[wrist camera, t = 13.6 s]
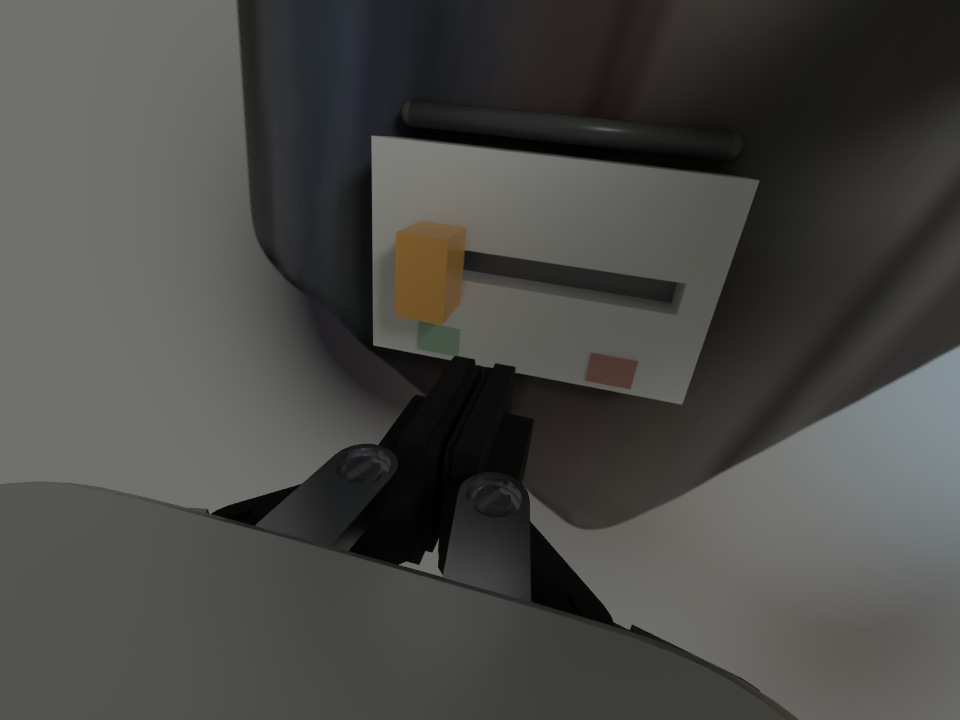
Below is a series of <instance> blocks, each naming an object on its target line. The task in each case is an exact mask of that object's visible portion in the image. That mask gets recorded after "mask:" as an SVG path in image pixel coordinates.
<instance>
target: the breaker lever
mask: <svg viewBox="0 0 960 720" xmlns="http://www.w3.org/2000/svg"><path fill="white" fill-rule="evenodd" d="M465 240H466V227H459V226H452V225H445V224H438V223H432V222H425V221H419V222H417V223H415V224H412V225H410V226H408V227H406V228H403V229H401V230H399V231H397V232H396V267H395V316H396V317H402V318H407V319H413V320H418V321H424V322H429V323H435V324H440V325H443V324H444V323H445V321H446V320H447V319H448V318H449V317H450V315H451V314H452V313H453V312H454V311H455V310H456V308H457V307H458V306H459V305H460V301H461V288H462V276H463V267H464V265H465V253H466V250H465Z"/></svg>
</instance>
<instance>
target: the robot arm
mask: <svg viewBox="0 0 960 720" xmlns="http://www.w3.org/2000/svg"><path fill="white" fill-rule="evenodd" d="M481 372H482V367H481V366H480V365H475V359H471V358H466V357H460V356H454V357H453V358H452V360H451V361H450V363H449V364H448V366H447V367H446V369H445V370H444V372H443V373H442V375H441V376H440V378H439V379H438V381H437V382H436V383H435V385H434V386H433V388H432V389H431V391H430V392H429V394H428V395H427V397H425V396H420V395H415V396H414V397H413V398H412V399H411V401H410V402H409V404H408V405H407V407H406V408H405V409H404V410H403V412H402V413H401V414H400V416H399V417H398V419H397V420H396V421H395V423H394V424H393V426H392V427H391V428H390V430H389V431H388V433H387V434H386V435H385V437H384V438H383V439H382V441H381V442H380V443H379V445H375V444H359V445H354V446H351V447H348V448H345V449H343V450H341V451H340V452H338V453H337V454H335V455H334V456H333V457H332V458H331V459H330V460H329V461H327V462H326V463H325V464H324V465H323V466H322V467H321V468H319V470H317V471H316V472H315V473H314V474H313V475H312V476H310V477H309V478H308V479H307V480H306V481H305V482H304V483H302V484H300V485H296V486H293V487H290V488H287V489H283V490H279V491H276V492H273V493H269V494H266V495H263V496H259V497H256V498H252V499H249V500H245V501H242V502H239V503H235V504H232V505H229V506H226V507H224V508H221V509H218V510H217V511H215V512H213V513H212V514H209V511H208V509H200V508H185V507H181V506H178V505H174V504H170V503H166V502H162V501H158V500H154V499H150V498H146V497H141V496H137V495H132V494H128V493H123V492H119V491H114V490H109V489H105V488H101V487H94V486H88V485H81V484H73V483H56V482H24V483H7V484H0V720H798V719H797V718H796V717H795V716H794V715H792V714H791V713H790V712H788V711H787V710H786V709H784V708H783V707H782V706H780V705H779V704H777V702H775V701H774V700H772V699H771V698H769V697H767V696H766V695H764V694H763V693H761V692H760V691H759V690H758V689H757V688H756V687H754V686H753V685H751V684H750V683H748V682H747V681H745V680H744V679H742V678H740V677H738V676H736V675H734V674H732V673H730V672H728V671H726V670H724V669H722V668H720V667H718V666H716V665H714V664H712V663H710V662H708V661H706V660H704V659H701V658H699V657H698V656H695V655H693V654H691V653H689V652H687V651H685V650H683V649H681V648H679V647H677V646H675V645H673V644H671V643H669V642H667V641H665V640H663V639H661V638H659V637H657V636H655V635H653V634H651V633H648V632H646V631H644V630H642V629H640V628H638V627H636V626H634V625H632V626H631V628H630V630H628V629H626V628H624V627H622V626H620V625H618V624H616V623H614V622H613V620H612V617H611V615H610V614H609V612H608V611H607V609H606V608H605V607H604V605H603V604H602V603H601V602H600V600H599V599H598V598H597V597H596V596H595V595H594V594H593V592H592V591H591V590H590V589H589V588H588V587H587V586H586V585H585V583H584V582H583V581H582V580H581V579H580V578H579V576H578V575H577V574H576V573H575V572H574V571H573V570H572V568H570V566H569V565H568V564H567V563H566V562H565V560H564V559H563V558H562V557H561V556H560V555H559V554H558V553H557V552H556V550H555V549H554V548H553V547H552V546H551V545H550V543H549V542H548V541H547V540H546V539H545V538H544V536H543V535H542V534H541V533H540V532H539V531H538V530H537V528H536V527H535V526H534V525H533V524H532V523H531V522H530V500H529V496H528V492H527V490H526V489H525V487H524V486H523V485H522V481H523V477H524V472H525V468H526V463H527V458H528V452H529V447H530V441H531V435H532V429H533V423H534V419H532V418H527V417H523V416H518V415H513V414H510V408H511V401H512V394H513V387H514V379H515V372H516V367H514V366H509V365H503V364H498V363H495V365H494V367H493V368H491V367H486V369H485V371H484V373H483V375H482V377H481ZM438 538H439V547H438V554H439V560H438V568H439V569H440V571H441V573H442V575H443V577H440V576H436V575H433V574H429V573H426V572H422V571H418V570H414V569H411V568H408V567H403V566H400V565H399V564H401V563H404V562H406V561H407V562H411V563H414V564H418V565H419V564H420V562H421V560H422V557H423V555H424V553H425V551H428V552H433V550H434V548H435V546H436V543H437V541H438Z"/></svg>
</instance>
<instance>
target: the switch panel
mask: <svg viewBox="0 0 960 720" xmlns="http://www.w3.org/2000/svg"><path fill="white" fill-rule="evenodd" d="M400 114H401V118H402V120H403V122H404V123H405V124H407V125H408V126H411V127H419V128H428V129H438V130H447V131H456V132H465V133H474V134H483V135H492V136H501V137H510V138H519V139H528V140H537V141H547V142H556V143H565V144H574V145H583V146H592V147H601V148H610V149H619V150H628V151H637V152H647V153H656V154H665V155H674V156H683V157H692V158H701V159H710V160H719V161H731V160H733V159H735V158H737V157H738V156H739V155H740V154H741V153H742V151H743V149H744V139H743V137H742V136H741V135H740V134H739V133H737V132H731V131H721V130H711V129H701V128H691V127H681V126H671V125H661V124H651V123H641V122H631V121H621V120H611V119H601V118H591V117H581V116H571V115H561V114H551V113H541V112H532V111H522V110H512V109H502V108H492V107H482V106H472V105H462V104H452V103H442V102H432V101H422V100H407V101H406V102H404V103H403V105H402V106H401V110H400ZM759 181H760V180H755V179H751V178H747V177H743V176H738V175H734V174H725V173H716V172H707V171H699V170H690V169H681V168H672V167H663V166H655V165H646V164H637V163H628V162H620V161H611V160H602V159H593V158H585V157H576V156H567V155H558V154H549V153H541V152H532V151H523V150H514V149H506V148H497V147H488V146H479V145H471V144H462V143H453V142H444V141H436V140H427V139H418V138H409V137H395V136H372V249H373V345H374V346H380V347H385V348H390V349H395V350H401V351H406V352H411V353H416V354H421V355H427V356H432V357H437V358H442V359H447V360H452V358H453V357H454V356H460V357H466V358H471V359H475V365H480V366H484V367H491V368H493V367H494V365H495V363H498V364H503V365H509V366H514V367H516V372H515V373H520V374H526V375H531V376H536V377H541V378H546V379H552V380H557V381H562V382H567V383H573V384H578V385H583V386H588V387H593V388H599V389H604V390H609V391H614V392H619V393H625V394H630V395H635V396H640V397H645V398H651V399H656V400H661V401H666V402H672V403H677V404H683V401H684V398H685V395H686V392H687V389H688V386H689V383H690V381H691V378H692V375H693V372H694V369H695V366H696V363H697V360H698V357H699V354H700V352H701V349H702V346H703V343H704V340H705V337H706V334H707V331H708V328H709V326H710V323H711V320H712V317H713V314H714V311H715V308H716V305H717V302H718V300H719V297H720V294H721V291H722V288H723V285H724V282H725V279H726V276H727V273H728V271H729V268H730V265H731V262H732V259H733V256H734V253H735V250H736V247H737V245H738V242H739V239H740V236H741V233H742V230H743V227H744V224H745V221H746V219H747V216H748V213H749V210H750V207H751V204H752V201H753V198H754V195H755V192H756V190H757V187H758V184H759ZM419 221H425V222H432V223H438V224H445V225H452V226H459V227H466V240H465V250H466V253H465V265H464V267H463V276H462V288H461V301H460V305H459V306H458V307H457V308H456V310H455V311H454V312H453V313H452V314H451V315H450V317H449V318H448V319H447V320H446V321H445V323H444V324H443V325H440V324H435V323H429V322H424V321H418V320H413V319H407V318H402V317H396V316H395V267H396V232H397V231H399V230H401V229H403V228H406V227H408V226H410V225H412V224H415V223H417V222H419Z"/></svg>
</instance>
